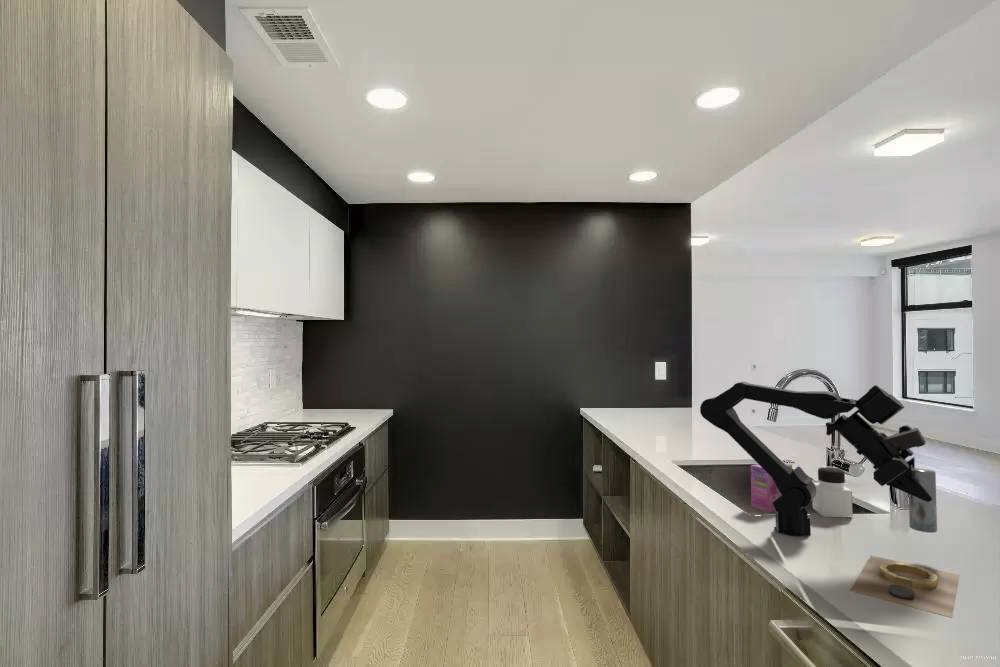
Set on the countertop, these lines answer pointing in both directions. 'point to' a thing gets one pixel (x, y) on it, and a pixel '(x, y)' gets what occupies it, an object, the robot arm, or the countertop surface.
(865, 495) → the countertop surface
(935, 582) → the brass ring
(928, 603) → the board
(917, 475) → the steel peg
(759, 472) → the box
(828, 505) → the medicine bottle
